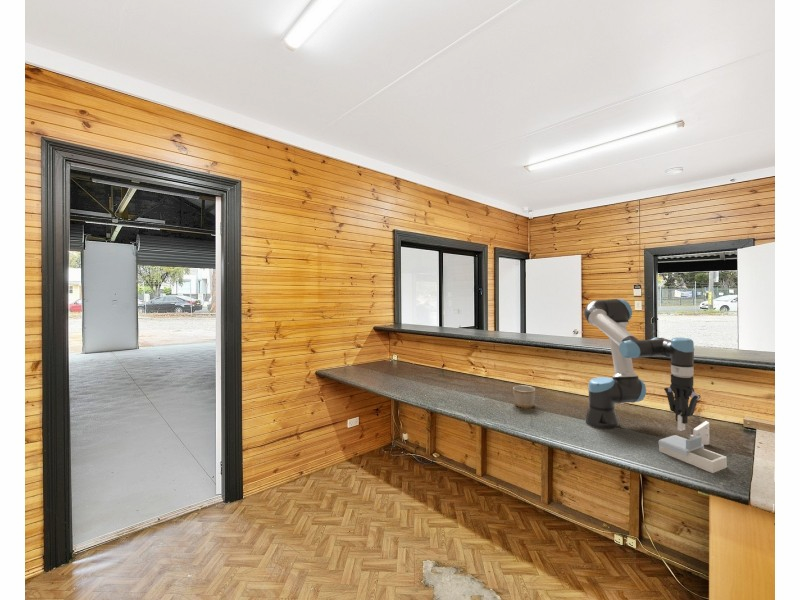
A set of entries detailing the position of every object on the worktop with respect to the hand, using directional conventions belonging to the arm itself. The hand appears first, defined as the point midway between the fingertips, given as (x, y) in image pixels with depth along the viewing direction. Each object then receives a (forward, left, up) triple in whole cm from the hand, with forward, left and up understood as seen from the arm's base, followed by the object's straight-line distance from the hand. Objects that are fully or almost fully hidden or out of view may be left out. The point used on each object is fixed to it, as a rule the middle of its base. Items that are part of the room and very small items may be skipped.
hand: (681, 429), depth 155 cm
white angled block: (-3, +18, -11) cm, 21 cm away
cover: (0, 0, -8) cm, 8 cm away
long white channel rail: (+4, 0, -11) cm, 12 cm away
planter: (-78, -16, -11) cm, 80 cm away
